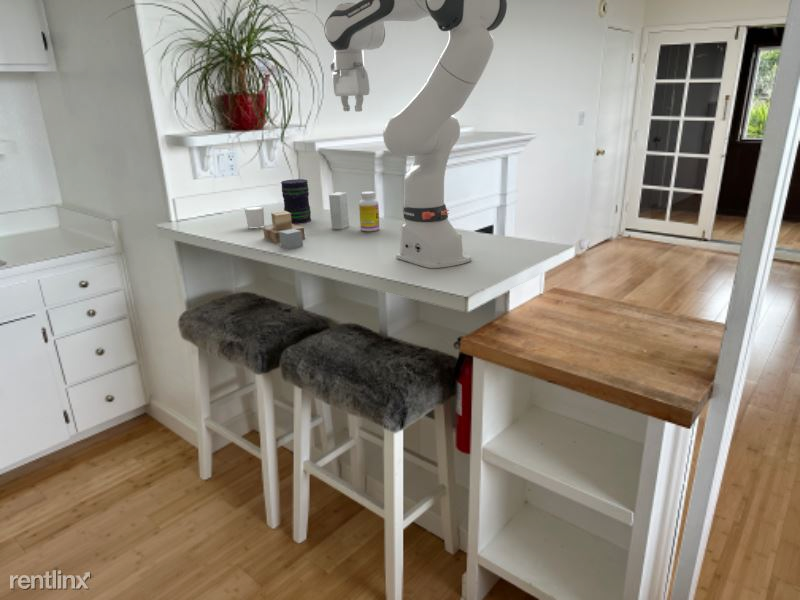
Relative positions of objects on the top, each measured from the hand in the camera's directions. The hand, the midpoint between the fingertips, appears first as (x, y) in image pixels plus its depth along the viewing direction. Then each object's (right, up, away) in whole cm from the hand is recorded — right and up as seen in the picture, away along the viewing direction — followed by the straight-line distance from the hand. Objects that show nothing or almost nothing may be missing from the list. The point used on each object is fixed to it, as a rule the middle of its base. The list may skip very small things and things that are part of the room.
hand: (352, 111), depth 177 cm
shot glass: (-38, -33, +30) cm, 58 cm away
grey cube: (-19, -42, 0) cm, 47 cm away
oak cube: (-24, -35, +10) cm, 44 cm away
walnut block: (-24, -39, +11) cm, 47 cm away
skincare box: (-6, -34, +23) cm, 41 cm away
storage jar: (-24, -30, +36) cm, 52 cm away
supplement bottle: (+5, -35, +18) cm, 40 cm away
